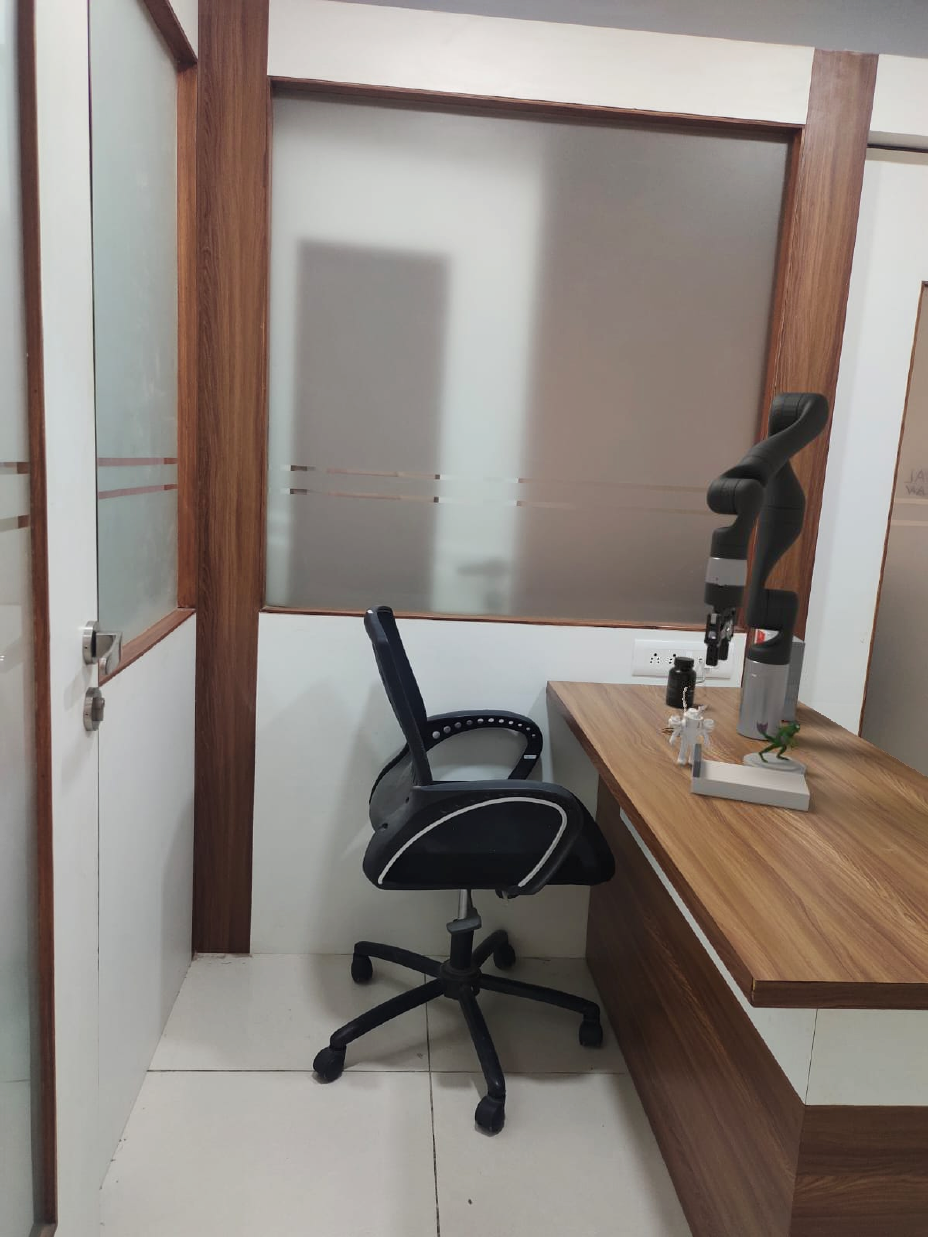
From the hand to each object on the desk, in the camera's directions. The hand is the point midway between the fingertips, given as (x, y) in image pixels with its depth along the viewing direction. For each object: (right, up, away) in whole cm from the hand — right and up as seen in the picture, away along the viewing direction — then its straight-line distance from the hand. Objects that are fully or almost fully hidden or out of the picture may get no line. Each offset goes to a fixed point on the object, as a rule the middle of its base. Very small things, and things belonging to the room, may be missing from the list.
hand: (716, 662), depth 172 cm
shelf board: (+2, -23, -12) cm, 26 cm away
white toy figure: (-5, -20, +2) cm, 21 cm away
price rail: (-7, -19, -10) cm, 22 cm away
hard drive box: (+26, -15, +45) cm, 54 cm away
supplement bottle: (+4, -13, +46) cm, 48 cm away
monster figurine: (+13, -21, +3) cm, 25 cm away
